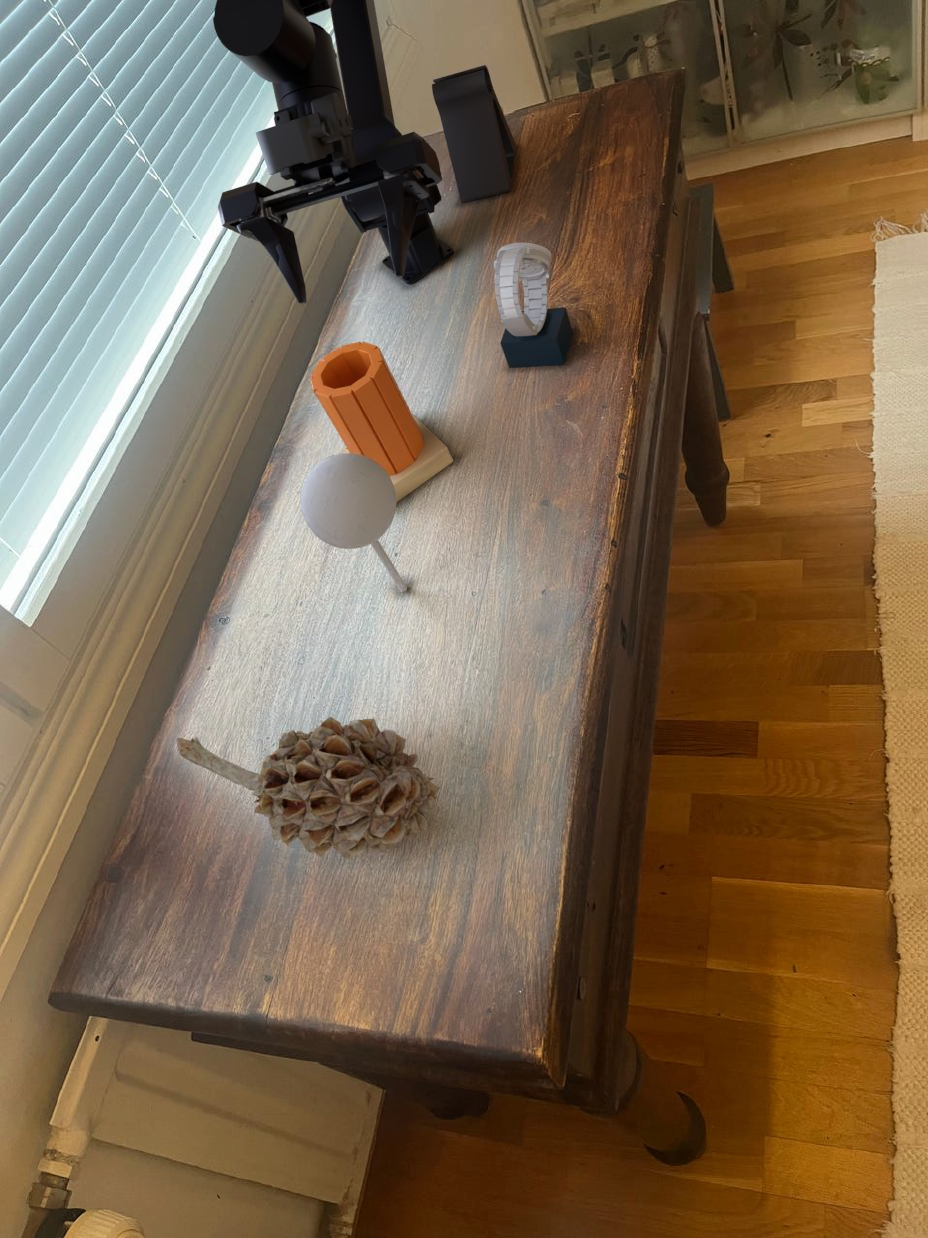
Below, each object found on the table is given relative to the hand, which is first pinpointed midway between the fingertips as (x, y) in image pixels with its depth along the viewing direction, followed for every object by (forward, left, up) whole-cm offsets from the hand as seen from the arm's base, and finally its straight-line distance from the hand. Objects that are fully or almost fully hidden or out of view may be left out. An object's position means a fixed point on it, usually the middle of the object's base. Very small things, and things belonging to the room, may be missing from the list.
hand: (350, 290), depth 81 cm
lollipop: (+19, -12, -14) cm, 27 cm away
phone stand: (-26, +27, -14) cm, 40 cm away
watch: (+5, +13, -14) cm, 20 cm away
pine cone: (+32, -27, -14) cm, 44 cm away
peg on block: (+6, -5, -14) cm, 16 cm away
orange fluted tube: (+6, -5, -12) cm, 14 cm away
